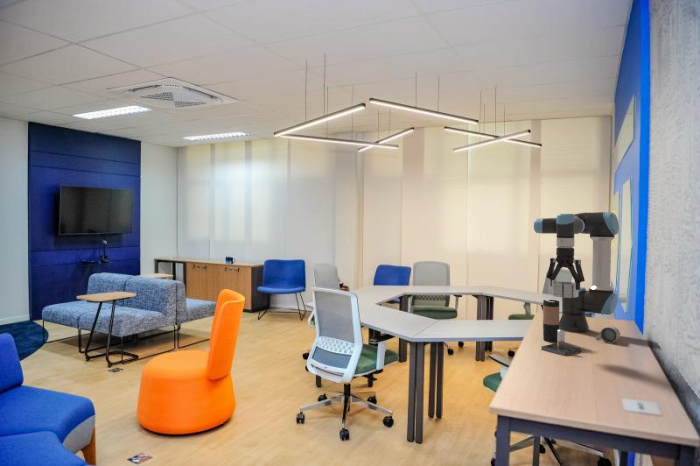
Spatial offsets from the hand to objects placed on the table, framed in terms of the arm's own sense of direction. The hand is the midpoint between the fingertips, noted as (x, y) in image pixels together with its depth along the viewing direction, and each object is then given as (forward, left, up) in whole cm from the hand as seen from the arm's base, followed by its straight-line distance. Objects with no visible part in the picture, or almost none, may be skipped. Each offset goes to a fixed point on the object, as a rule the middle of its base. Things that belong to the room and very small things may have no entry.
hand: (564, 295), depth 216 cm
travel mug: (-12, -15, -26) cm, 32 cm away
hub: (0, 0, 0) cm, 0 cm away
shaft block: (+1, -1, -26) cm, 26 cm away
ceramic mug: (-35, +1, -26) cm, 43 cm away
